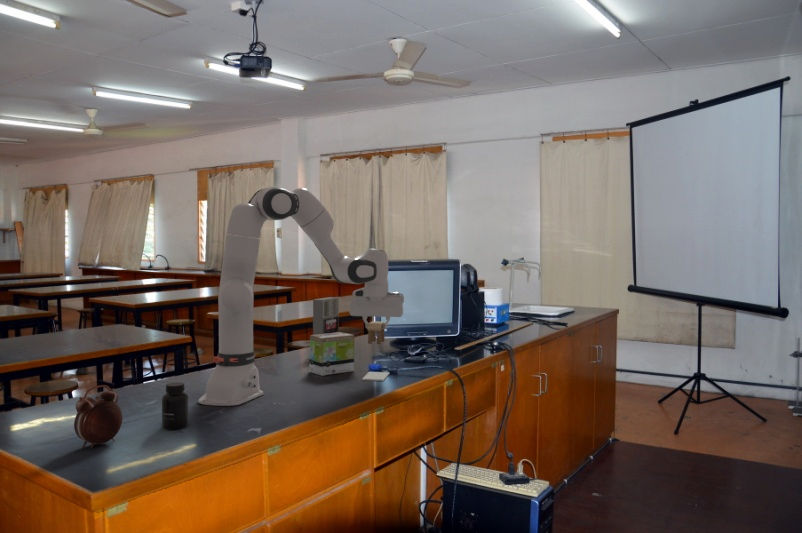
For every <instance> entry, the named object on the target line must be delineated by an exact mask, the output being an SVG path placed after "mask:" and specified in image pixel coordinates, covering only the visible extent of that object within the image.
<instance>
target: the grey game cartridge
mask: <svg viewBox="0 0 802 533" xmlns="http://www.w3.org/2000/svg"><path fill="white" fill-rule="evenodd" d="M339 302H340V298H339V297H334V296H333V297H332V296H329V297H328V296H327V297H322V298H316V299H315V298H314V299H313V300H312V335H318V334H327V333H338V332H340V331H339V328H340V321H339V320H340V318H339V316H340V315H339V314H340V312H339V311H340V308H339V307H340V304H339Z"/></svg>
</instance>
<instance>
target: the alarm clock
mask: <svg viewBox="0 0 802 533" xmlns="http://www.w3.org/2000/svg"><path fill="white" fill-rule="evenodd" d="M102 387H103V388H106V389H107V390H106V391H104V392H102V393H101V394H100V395H99V396H95V399H94V398H93V397H90V396H88V394H89V392H90V391H92V390H95V389H98V388H102ZM118 401H119V396H118V394H117V393H116V392H115V390H114V388H111V387H110V386H108V384H107V385H106V384H101V385H95V386H93V387H91V388H89V389H87V391H85V394H84V396H83V397H82V396H80V397H79V400H77V402H75V403H76V404H75V410H76V414H75V416H74V421H73V422H74V423H73V427H74V428H73V429H74V431H75V434H76V436H77V437H78V438H79V439H81V440H82V441H84V443H83V446H82V448H83V449H85V447H86V445H87V444H88V443H89V444H91V446H90V449H93V446H94V445H95V444H96V445H102V444H105V443H108V442H109V441H111V440H112V442H115V441H116V439H114V438H115V436H116V435H117V434H118V433H119V431H120V429H121V427H122V423H123V411H122V410H121V409H122V408H120V406H119V405H118V404H117V403H118Z"/></svg>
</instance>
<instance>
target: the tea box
mask: <svg viewBox="0 0 802 533" xmlns="http://www.w3.org/2000/svg"><path fill="white" fill-rule="evenodd" d="M355 338H356V337H355V334H350V333H346V332H340V331H339V332H338V333H327V334H318V335H313V334H310V335H309V353H308V354H309V363H308V364H309V366H308V371H309V373H312V374H315V375H317V376H321V377H323V376H328V375H333V374H334V375H335V374H341V373H343V374H344V373H348V372H349V373H350V372H354V369H355Z"/></svg>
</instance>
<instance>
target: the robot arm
mask: <svg viewBox="0 0 802 533" xmlns="http://www.w3.org/2000/svg"><path fill="white" fill-rule="evenodd" d="M289 217H291V218H292V219H293V220H294V221H295V222H296V224H297V225H298V226H299V227H300V228H301V230H302V231H303V232H304V233H305V234H306V236H307V237H308V238H309V239H310V240H311V241H312V243H313V244H314V246H315V247H316V249H317V250H318V251H319V253H320V255H322V257H323V258H324V259H325V261H326V262H327V264H328V266H329V269H330V272H331V276H332V277H333V279H334V280H335V281H336V282H338V283H340V284H352V285H353V284H354V285H361V284H364V287H361V288H358V289H355V290H353V291H352V298H351V299H350V303H349V314H350V316H352V317H362V320H363V322H364V324H365V329H367V324H368V323H369V322H368V320H367V319H368V317H375V318H376V317H378V318H379V317H381V318H382V317H383V318H385V320H386V321H385V324H383V329H385V330H387V329H388V324H389V323H390V321H391V318H402V317H403V315H404V306H403V305H404V302H405V301H404V299H405V296H404V294H403V293H401V292H399V291H396V292H393V291H389V281H388V280H389V279H388V275H389V258H388V255H387V252H386V251H385V250H383V249H378V248H374V247H373V248H367V249H366V250H365V251H364V252H363V253H361V254H359V255H357V256H355V257H349V256H347V255H345V254H344V253H342V251H341V250H340V249H339V247H338V246H337V244H336V243H335V242H334V240H333V239H332V238H333V237H332V235H331V233H333V230H334V224H335V222H334V220H333V217H332V216H331V214H330V212H329V211H328V210H327V208H326V207H325V205H323V204H322V202H321V201H320V200H319V199H318V198H317V197H316V196H315V195H314V194H313V193H312V192H311V191H310V190H308V188H305V187H299V188H295V189H293V190H291V191H290V190H288V189H285V188H283V187H282V188H281V187H272V186H270V187H269V186H268V187H266V188H262V189H259V190H257V191H256V192H255V193H254V194H253V195H252V197H251V198H250V199H249V201H248V202H244V203H243V202H242V203H239V204H236V205H235V206H233V208H232V210H231V213H230V216H229V219H228V222H227V223H228V224H227V228H226V234H225V242H224V251H223V258H222V264H221V272H220V273H221V274H220V281H219V288H218V293H217V294H218V300H217V302H218V353H217V355H216V356H213V359H212V362H213V363H215V364H216V366H215V367H214V370H213V371H212V372H211V375H210V376H209V379H208V380H207V381H206V383H205V384H206V386H205V393H204V394H203V395H201V397H200V398H199V399H198V401H197V403H198V404H201V405H206V406H223V407H225V406H227V407H228V406H229V407H230V406H239V405H241V404H245V403H247V402H249V401H251V400H253V399H256V398H258V397H261V396H263V395H264V391H263V390H261V387H260V376H259V369H258V368H257V366H256V365H255V356H256V354H255V350H254V298H255V297H254V283H255V276H256V270H257V265H258V260H259V259H258V257H259V251H260V250H259V249H260V244H261V235H262V228H263V226H264V224H265V222H266V221H268V220H269V221H282V220H285V219H287V218H289Z"/></svg>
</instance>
